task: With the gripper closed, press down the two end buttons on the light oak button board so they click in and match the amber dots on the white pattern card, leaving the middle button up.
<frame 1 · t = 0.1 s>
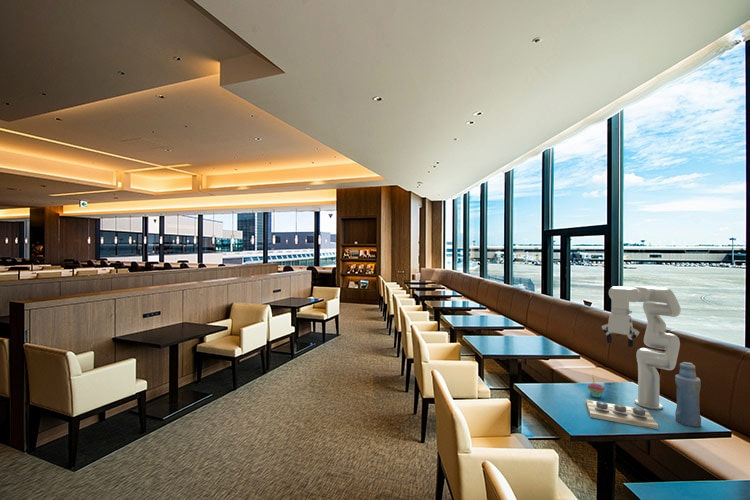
hand: (619, 344, 185), 37 cm above the table, tool pointing down, fingers open, 9 cm apart
button board: (618, 415, 187), on the table
cupcake: (596, 396, 213), on the table
button far: (602, 405, 187), point 5 cm above the table, slide at 0.0 cm
button middle: (620, 408, 184), point 5 cm above the table, slide at 0.0 cm
bottle: (687, 423, 180), on the table
button near bottle: (639, 411, 181), point 5 cm above the table, slide at 0.0 cm
pattern card: (616, 410, 192), resting on button board
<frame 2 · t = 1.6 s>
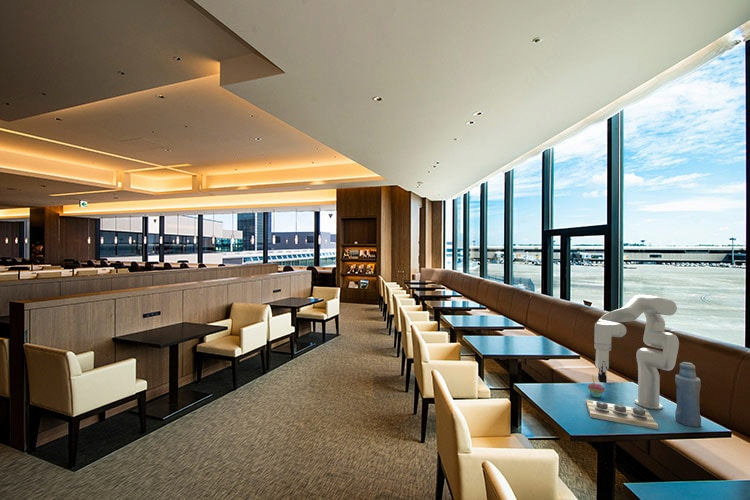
hand: (602, 381, 188), 17 cm above the table, tool pointing down, fingers closed
nothing on the table moved.
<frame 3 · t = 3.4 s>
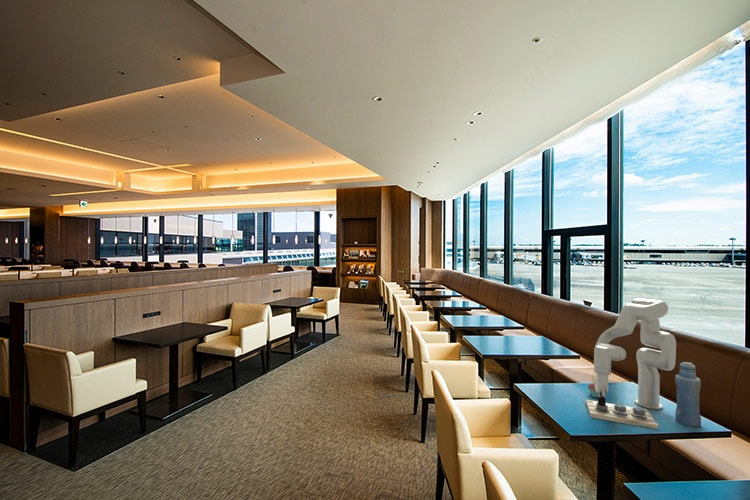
hand: (601, 405, 187), 5 cm above the table, tool pointing down, fingers closed
button far: (602, 407, 187), point 4 cm above the table, slide at 0.9 cm, touching gripper
everything else where it was.
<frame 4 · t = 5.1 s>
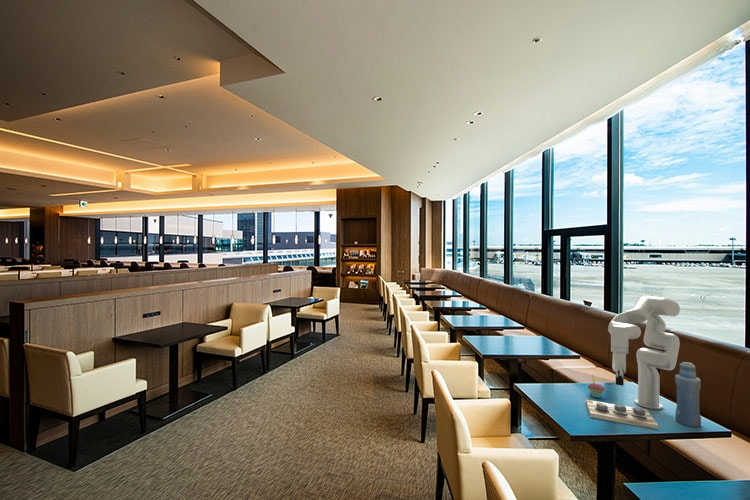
hand: (619, 384, 185), 17 cm above the table, tool pointing down, fingers closed
button far: (602, 407, 187), point 4 cm above the table, slide at 1.0 cm
everything else where it was.
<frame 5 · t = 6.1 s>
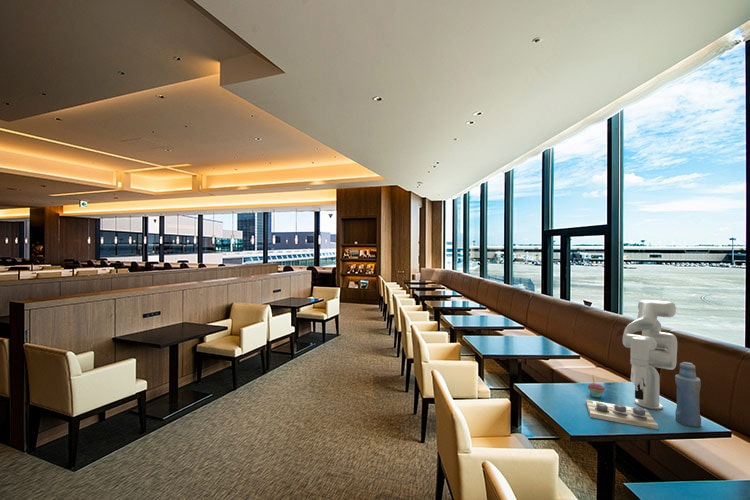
hand: (639, 398, 180), 11 cm above the table, tool pointing down, fingers closed
nothing on the table moved.
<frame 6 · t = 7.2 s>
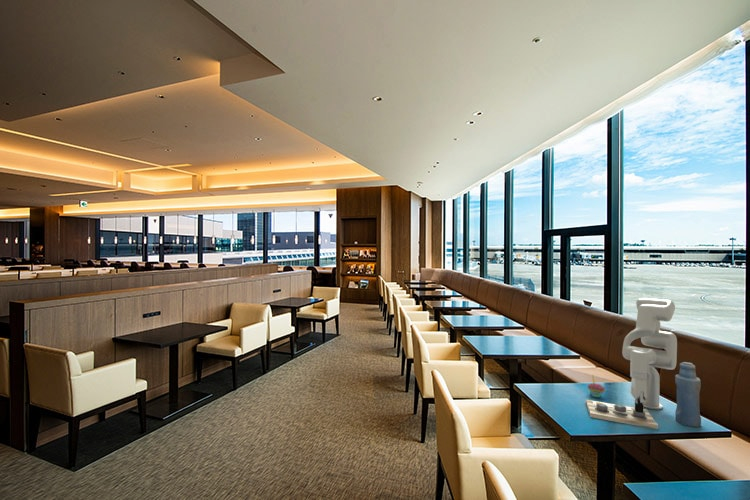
hand: (639, 411, 181), 5 cm above the table, tool pointing down, fingers closed
button near bottle: (639, 413, 181), point 4 cm above the table, slide at 1.0 cm, touching gripper
everything else where it was.
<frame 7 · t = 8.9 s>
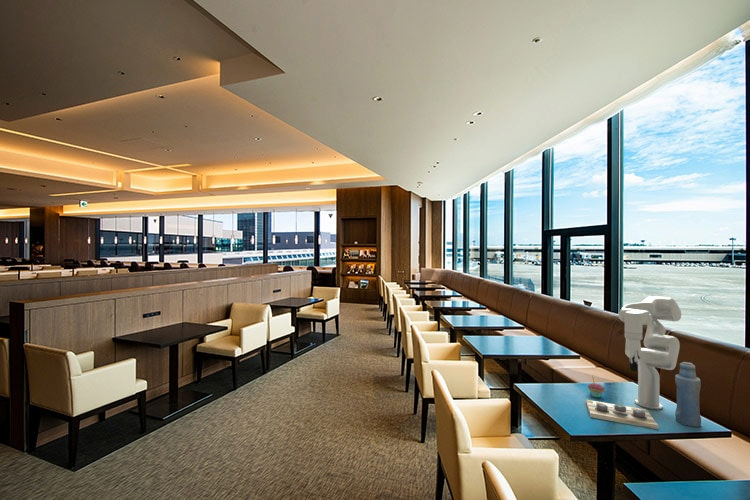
hand: (633, 370, 186), 24 cm above the table, tool pointing down, fingers closed
button near bottle: (639, 413, 181), point 4 cm above the table, slide at 1.1 cm
everything else where it was.
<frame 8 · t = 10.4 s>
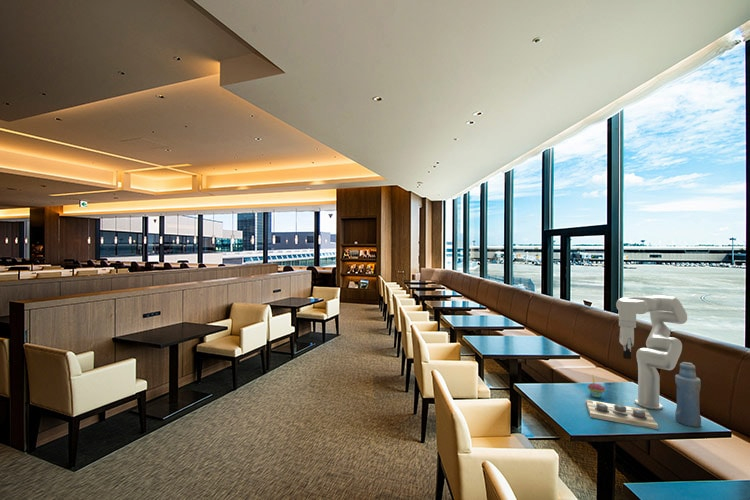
hand: (627, 358, 189), 29 cm above the table, tool pointing down, fingers closed
nothing on the table moved.
at the end: button far slide at 1.0 cm; button near bottle slide at 1.1 cm; button middle slide at 0.0 cm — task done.
